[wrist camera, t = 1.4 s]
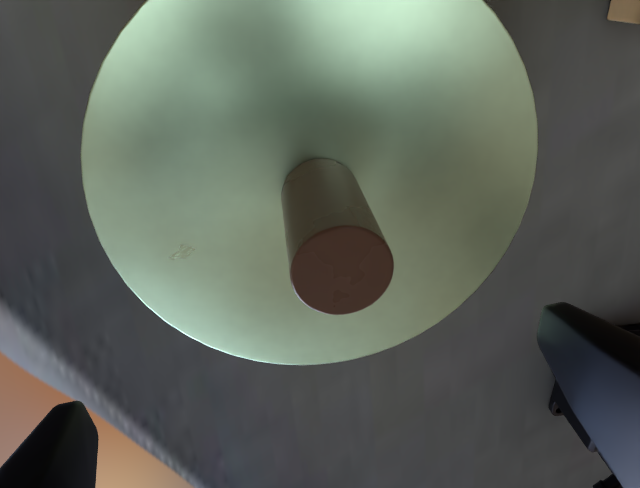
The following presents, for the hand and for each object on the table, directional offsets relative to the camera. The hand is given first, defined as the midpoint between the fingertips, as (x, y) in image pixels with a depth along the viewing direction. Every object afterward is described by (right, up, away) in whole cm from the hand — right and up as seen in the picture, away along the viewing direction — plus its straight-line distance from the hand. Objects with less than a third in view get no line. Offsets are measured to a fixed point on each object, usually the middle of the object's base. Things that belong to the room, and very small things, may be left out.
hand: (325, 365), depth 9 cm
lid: (0, +4, +6) cm, 7 cm away
